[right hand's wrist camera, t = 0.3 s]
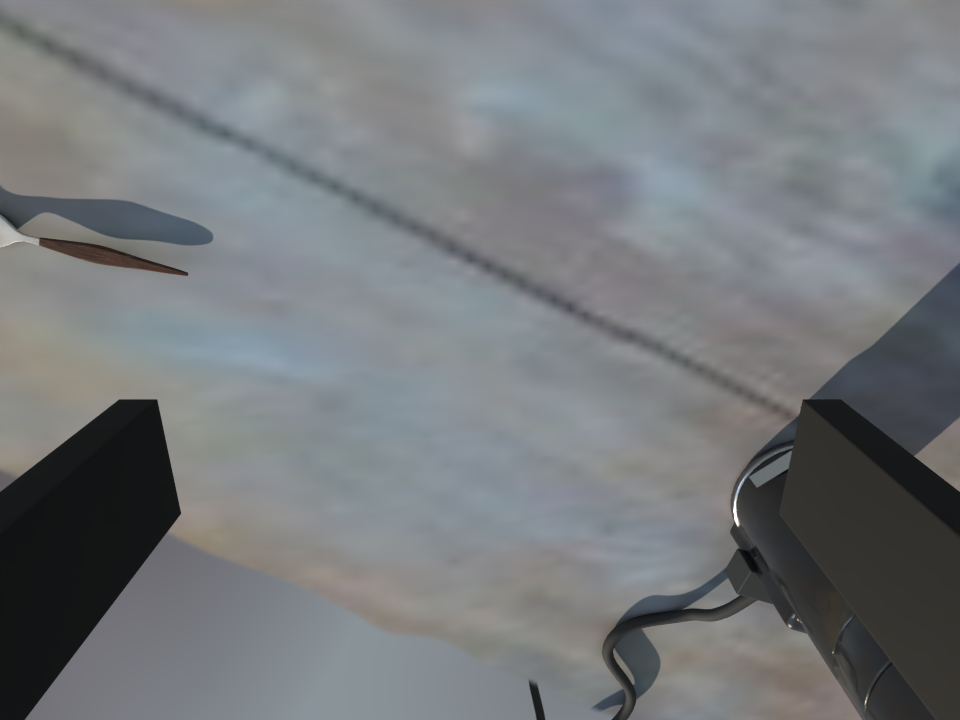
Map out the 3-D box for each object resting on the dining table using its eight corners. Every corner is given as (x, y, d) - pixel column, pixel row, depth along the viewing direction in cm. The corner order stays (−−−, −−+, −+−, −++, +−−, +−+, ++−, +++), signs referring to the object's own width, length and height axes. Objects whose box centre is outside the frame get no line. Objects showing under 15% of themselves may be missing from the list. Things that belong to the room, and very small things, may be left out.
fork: (190, 291, 40) (176, 300, 38) (-67, 235, 39) (-94, 241, 37) (192, 253, 39) (178, 259, 37) (-70, 193, 38) (-99, 197, 36)
